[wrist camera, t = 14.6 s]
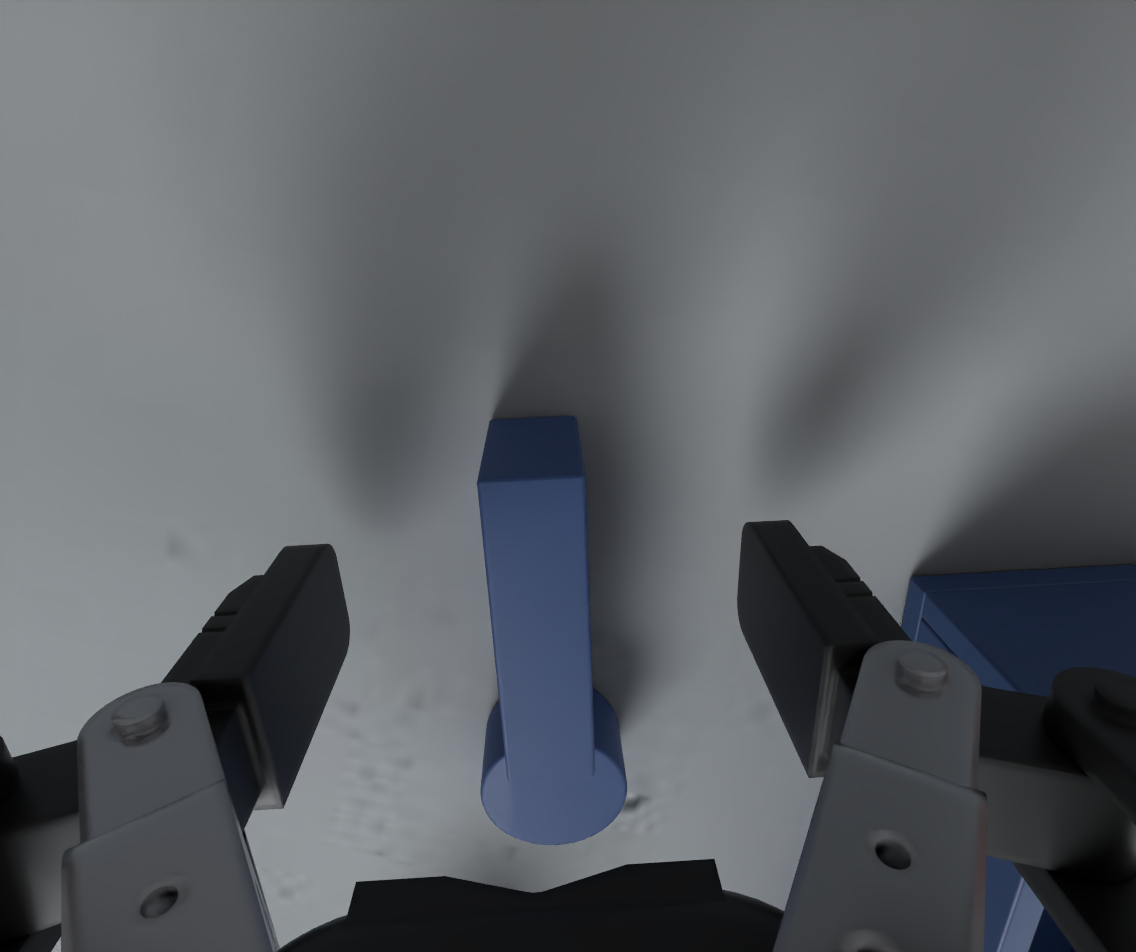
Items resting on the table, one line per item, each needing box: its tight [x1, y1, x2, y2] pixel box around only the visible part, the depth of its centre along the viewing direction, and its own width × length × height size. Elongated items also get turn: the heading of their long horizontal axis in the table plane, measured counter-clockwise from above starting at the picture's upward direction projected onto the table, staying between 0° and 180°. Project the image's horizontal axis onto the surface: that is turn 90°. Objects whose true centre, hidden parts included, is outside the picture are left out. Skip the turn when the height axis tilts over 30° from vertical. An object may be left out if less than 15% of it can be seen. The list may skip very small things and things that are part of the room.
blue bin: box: [901, 564, 1136, 952], centre depth 15 cm, size 13×7×5 cm, turn 2°
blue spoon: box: [477, 416, 627, 845], centre depth 13 cm, size 9×3×3 cm, turn 2°
